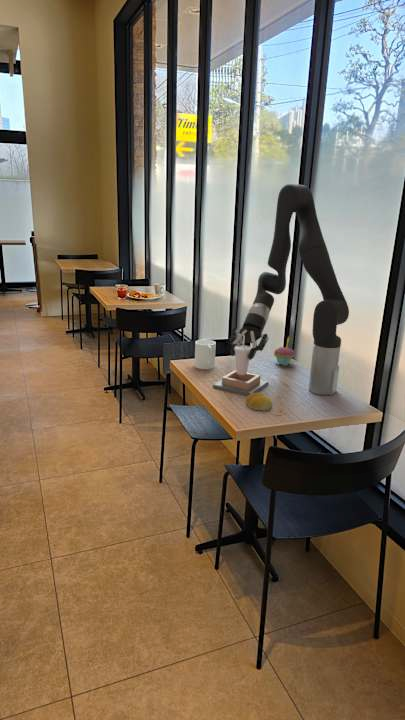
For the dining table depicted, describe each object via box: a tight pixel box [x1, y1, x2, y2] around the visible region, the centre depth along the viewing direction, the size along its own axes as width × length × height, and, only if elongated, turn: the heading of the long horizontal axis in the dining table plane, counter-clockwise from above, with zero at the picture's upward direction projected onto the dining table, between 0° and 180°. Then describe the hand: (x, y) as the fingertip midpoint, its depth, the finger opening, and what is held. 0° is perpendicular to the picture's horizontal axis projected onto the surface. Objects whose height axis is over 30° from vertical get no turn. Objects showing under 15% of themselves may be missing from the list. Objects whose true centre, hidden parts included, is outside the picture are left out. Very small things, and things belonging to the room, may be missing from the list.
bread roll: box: [245, 392, 273, 412], centre depth 159 cm, size 8×9×4 cm
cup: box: [194, 339, 217, 370], centre depth 193 cm, size 8×12×10 cm
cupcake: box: [273, 336, 295, 366], centre depth 202 cm, size 9×8×12 cm
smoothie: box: [234, 335, 252, 375], centre depth 173 cm, size 6×6×14 cm
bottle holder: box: [212, 369, 269, 397], centre depth 175 cm, size 15×15×4 cm
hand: (240, 356), depth 171 cm, fingers closed on smoothie, 6 cm apart
